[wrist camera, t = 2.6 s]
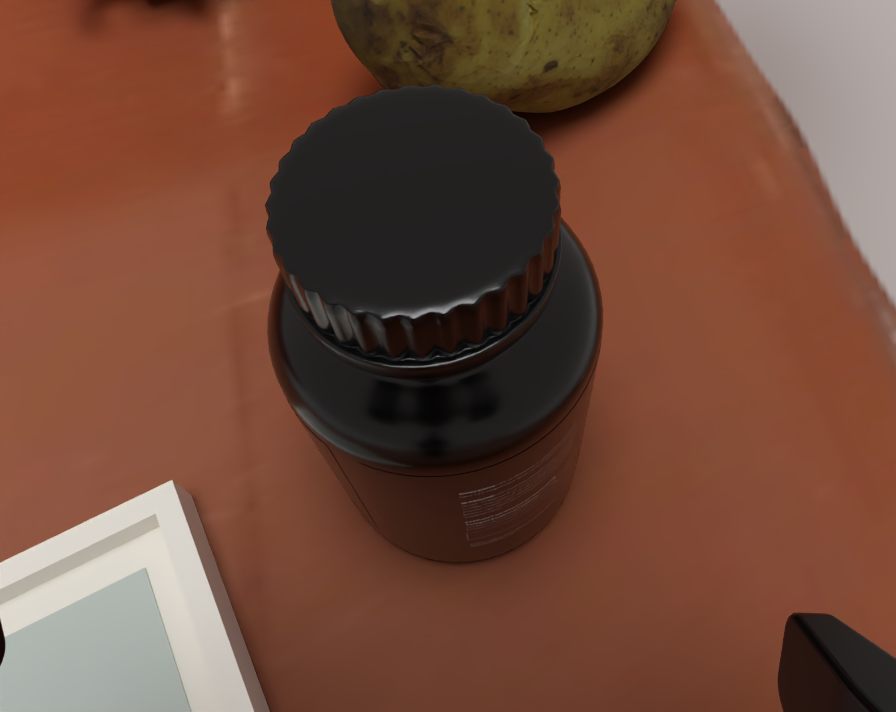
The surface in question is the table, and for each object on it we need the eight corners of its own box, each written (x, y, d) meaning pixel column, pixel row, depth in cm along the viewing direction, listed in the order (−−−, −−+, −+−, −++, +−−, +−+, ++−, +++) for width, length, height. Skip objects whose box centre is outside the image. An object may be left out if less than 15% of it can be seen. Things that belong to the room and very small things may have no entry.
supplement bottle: (567, 344, 24) (617, 28, 14) (582, 566, 21) (663, 384, 10) (349, 350, 25) (231, 47, 14) (334, 568, 22) (167, 395, 11)
